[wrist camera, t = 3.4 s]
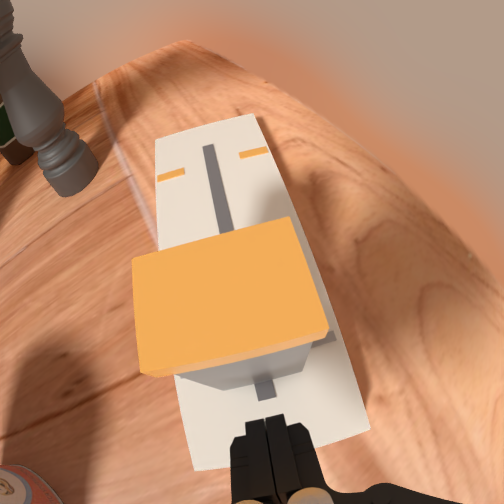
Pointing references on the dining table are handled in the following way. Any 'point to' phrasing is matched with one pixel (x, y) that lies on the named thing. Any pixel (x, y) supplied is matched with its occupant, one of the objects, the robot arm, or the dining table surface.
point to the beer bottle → (11, 140)
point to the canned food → (24, 487)
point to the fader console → (229, 219)
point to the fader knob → (227, 307)
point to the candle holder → (40, 116)
